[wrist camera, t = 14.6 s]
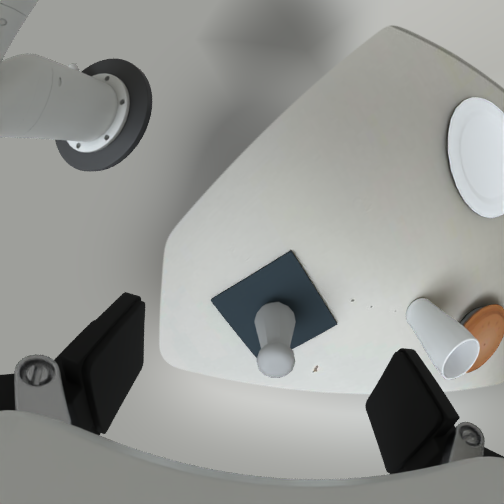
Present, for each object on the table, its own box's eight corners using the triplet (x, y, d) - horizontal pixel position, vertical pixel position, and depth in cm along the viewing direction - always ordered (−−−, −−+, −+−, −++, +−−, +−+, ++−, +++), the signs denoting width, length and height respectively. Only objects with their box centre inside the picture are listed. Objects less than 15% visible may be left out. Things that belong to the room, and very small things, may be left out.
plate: (421, 150, 34) (426, 150, 33) (472, 76, 29) (478, 74, 28) (485, 240, 37) (490, 243, 35) (528, 164, 32) (533, 164, 30)
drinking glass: (411, 288, 40) (459, 334, 26) (439, 297, 40) (488, 341, 26) (394, 324, 42) (432, 379, 27) (422, 331, 42) (462, 381, 27)
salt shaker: (265, 335, 43) (262, 391, 30) (248, 305, 42) (239, 357, 29) (300, 321, 42) (309, 375, 29) (285, 290, 41) (290, 338, 28)
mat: (211, 298, 42) (210, 300, 42) (291, 250, 40) (291, 251, 39) (261, 362, 45) (261, 364, 44) (336, 322, 42) (337, 324, 42)
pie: (503, 291, 39) (518, 300, 34) (486, 354, 43) (497, 365, 38) (452, 303, 40) (466, 315, 35) (435, 370, 44) (445, 385, 39)
